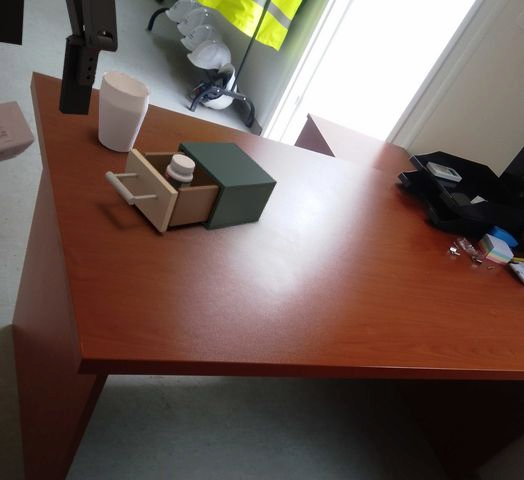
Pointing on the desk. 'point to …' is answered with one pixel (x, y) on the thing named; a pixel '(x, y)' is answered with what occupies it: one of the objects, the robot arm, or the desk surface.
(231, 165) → the cabinet
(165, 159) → the drawer
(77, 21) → the robot arm
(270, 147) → the desk surface
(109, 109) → the cup
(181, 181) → the pill bottle
